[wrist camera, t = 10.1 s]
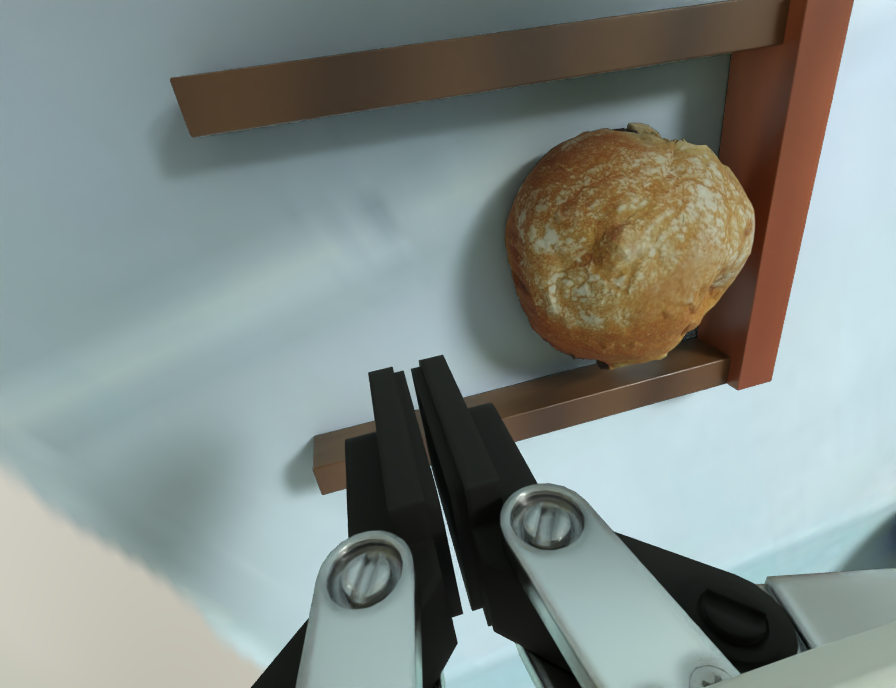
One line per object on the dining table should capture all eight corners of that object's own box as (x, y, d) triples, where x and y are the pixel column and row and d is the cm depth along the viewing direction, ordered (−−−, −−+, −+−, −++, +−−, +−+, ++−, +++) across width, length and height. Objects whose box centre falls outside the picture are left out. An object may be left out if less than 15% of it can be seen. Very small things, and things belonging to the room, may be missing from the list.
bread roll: (656, 157, 24) (799, 67, 16) (682, 351, 24) (835, 354, 17) (474, 172, 22) (537, 79, 14) (504, 381, 23) (582, 401, 15)
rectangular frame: (779, 0, 19) (858, -21, 16) (724, 353, 26) (771, 381, 24) (190, 84, 15) (160, 75, 13) (322, 460, 23) (321, 507, 20)
